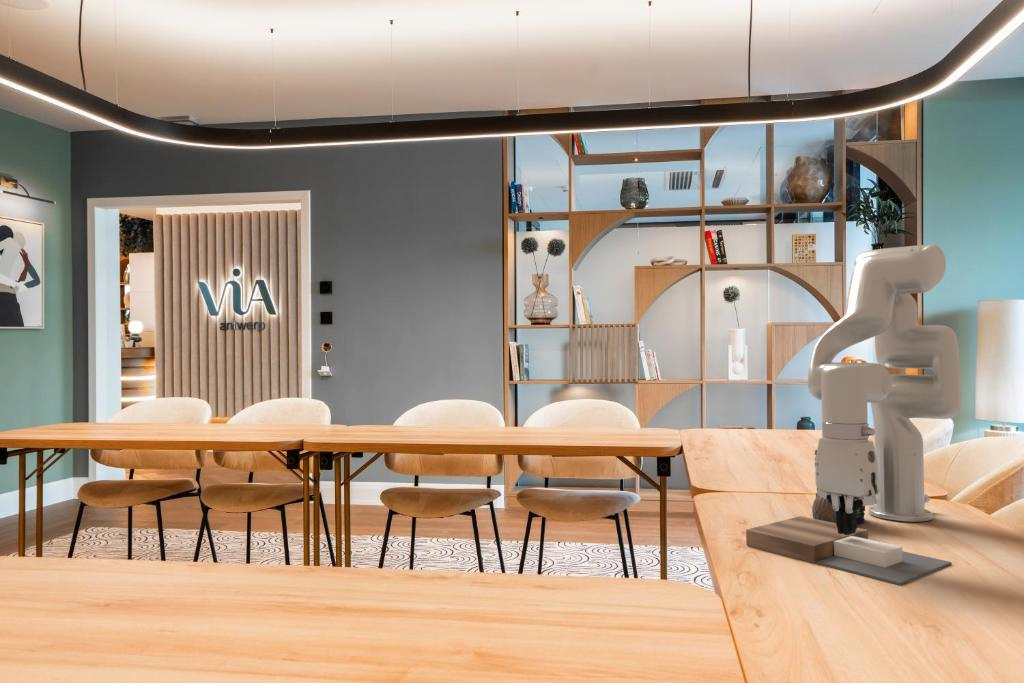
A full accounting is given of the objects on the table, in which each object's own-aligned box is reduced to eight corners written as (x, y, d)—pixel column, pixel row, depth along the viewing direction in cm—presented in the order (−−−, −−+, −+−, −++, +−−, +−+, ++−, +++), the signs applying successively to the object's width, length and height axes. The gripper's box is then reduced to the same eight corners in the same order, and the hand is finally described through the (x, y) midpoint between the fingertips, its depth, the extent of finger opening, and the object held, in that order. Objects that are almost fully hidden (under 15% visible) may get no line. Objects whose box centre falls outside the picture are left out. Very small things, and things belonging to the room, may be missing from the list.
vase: (805, 527, 145) (804, 485, 145) (828, 523, 148) (827, 482, 148) (832, 535, 139) (831, 491, 139) (856, 531, 141) (855, 488, 142)
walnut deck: (800, 530, 142) (800, 516, 142) (868, 545, 131) (867, 529, 131) (746, 545, 132) (746, 529, 132) (814, 563, 120) (814, 545, 120)
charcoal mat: (870, 546, 130) (870, 544, 130) (951, 564, 119) (951, 562, 119) (817, 563, 120) (816, 561, 120) (899, 585, 109) (899, 582, 109)
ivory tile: (851, 549, 127) (851, 535, 127) (902, 561, 120) (902, 546, 120) (834, 555, 124) (833, 541, 124) (885, 567, 116) (884, 552, 116)
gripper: (897, 434, 121) (899, 538, 121) (818, 427, 133) (819, 522, 133) (875, 437, 117) (877, 546, 117) (795, 430, 129) (797, 528, 129)
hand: (846, 533), depth 125 cm, fingers closed
